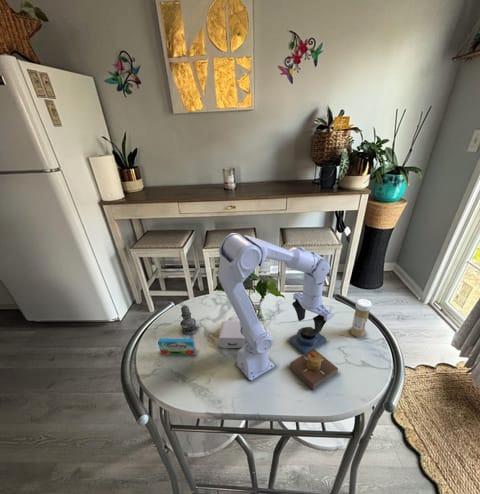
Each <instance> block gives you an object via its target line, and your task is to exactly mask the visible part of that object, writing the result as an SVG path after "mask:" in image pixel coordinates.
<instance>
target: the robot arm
mask: <svg viewBox="0 0 480 494" xmlns="http://www.w3.org/2000/svg"><path fill="white" fill-rule="evenodd" d="M218 255H219V263H218V264H219V266H218V281H219V284H220V285H221V287H222V289H223V291H224V293H225V296H226V298H227V299H228V300H229V303H230V305H231V307H232V308H233V311H234V313H235V315H236V317H238V319H239V321H240V322H239V324H240V326H241V329H240V332H241V334H242V335H243V336H244V337H245V344H244V346H243V347H242V348H239V349H238V350H237V351H236V358H237V363H236V366H237V367H238V368H239V369H240V370H241V372H242V374H244V375H245V376H246V378H247V379H248V380H249V381H253V380H255V379H256V378H258V377H260V376H261V375H263V374H265V373H267V372H268V371H270V370H272V369H273V368H275V364H274V363H273V362H272V361H271V360H270V357H269V356H270V353H269V352H270V349H271V348H272V346H273V344H274V338H273V337H272V336H271V335H269V334H268V332H267V331H266V330H265V328H264V327H263V325H262V324H261V322H260V319H259V317H258V315H257V313H256V311H255V308H254V306H253V304H252V301H251V299H250V296H249V294H248V292H247V290H246V288H245V285H244V282H245V281H246V279H247V278H248V277H249V276H250V275H251V274H252V273H253V272H254V271H255V270H256V269H257V268H258V266H259V265H264V263H265V262H266V259H268V260H273V261H277V262H282V263H284V266H285V267H286V268H287V269H290V270H293V271H298V272H301V273H303V284H302V293H301V292H299V291H296V292H294V293H293V295H292V299H293V300H294V301H293V302H292V307H293V308H294V311H295V313H296V316H297V320H298V322H301V321H303V320H305V318H306V311H308V312H310V313H313V314H317V315H316V316H314V317H312V320H313V323H314V324H313V325H314V329H315V333H316V334H317V333H321V332H322V330H323V327H324V326H325V324H326V323H327V322H328V321H329V320H331V319H332V312H330V310H328V309H327V308H326V306H325V305H324V304H323V299H322V298H323V290H324V282H325V280H326V279H327V278H326V277H327V275H328V273H329V272H330V269H331V266H330V264H329V261H328V260H327V259H326V258H324V257H323V256H322V255H321V256H320V255H319V254H317V253H316V252H315V251H312V250H311V251H307V250H306V248H304V247H302V246H298V247H291V248H289V249H286V248H284V247H281V246H279V245H276V244H273V243H270V242H268V241H266V240H262V239H260V238H257V237H253V236H250V235H247V234H246V235H245V234H244V235H241V234H240V233H238V232H232V233H229V234H228V235H226V236H225V237H224V238H223V240H222V242H221V244H220V246H219V247H218Z"/></svg>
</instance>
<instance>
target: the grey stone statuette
mask: <svg viewBox="0 0 480 494" xmlns="http://www.w3.org/2000/svg"><path fill="white" fill-rule="evenodd" d="M180 311H181V318H182V320H181V321H180V323H179V325H180V327H181V328H182V333H183V334H184V335H192V334H195V333H196V332H197V329H198V328H197V327H196V325H197V324H196V323H197V320H196V319H195V318H194V317H192V312H191V311H190V306H188V305H186V304H183V306H181V307H180Z"/></svg>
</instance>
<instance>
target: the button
mask: <svg viewBox="0 0 480 494" xmlns="http://www.w3.org/2000/svg"><path fill="white" fill-rule="evenodd" d="M311 327H312V326H305V328H303V327H302V328H303V329H302V333H301V335H302V337H303V338H304V339H313V338H314V337H315V330H314V329H315V328H314V327H312V328H311ZM313 328H314V329H313Z"/></svg>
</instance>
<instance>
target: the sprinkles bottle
mask: <svg viewBox="0 0 480 494" xmlns="http://www.w3.org/2000/svg"><path fill="white" fill-rule="evenodd" d="M371 308H372V302H371V301H370V300H368V299H366V298H359V299H358V300H356V303H355V310H354V313H353V319H352V323H351V330H350V334H351V335H353V336H354V337H356V338H362V337H364V335H365V333H366V332H365V331H366V328H367V325H368V319H369V316H370V315H369V314H370V310H371Z"/></svg>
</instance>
